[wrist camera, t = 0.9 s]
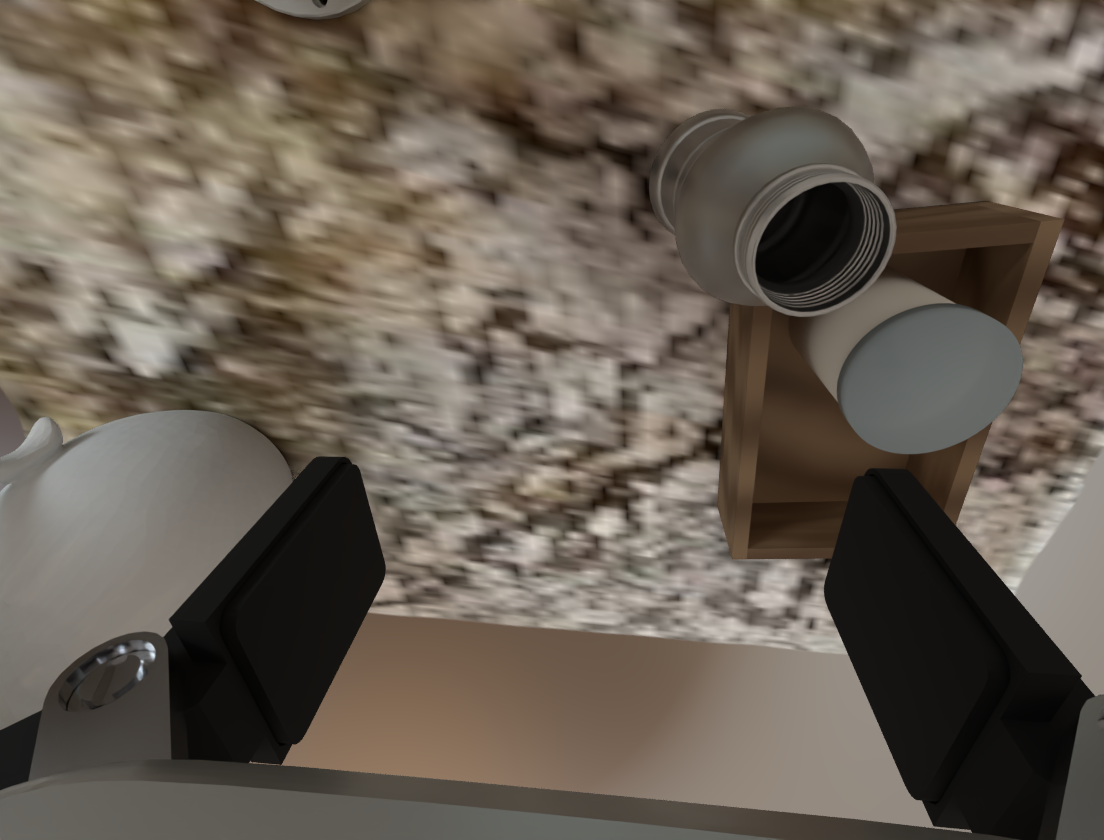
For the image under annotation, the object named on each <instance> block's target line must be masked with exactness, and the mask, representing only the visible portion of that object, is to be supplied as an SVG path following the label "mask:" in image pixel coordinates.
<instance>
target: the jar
mask: <svg viewBox="0 0 1104 840" xmlns="http://www.w3.org/2000/svg"><path fill="white" fill-rule="evenodd" d="M788 329H789V335H790V339H791V341H792V343H793V345H794V347H795V348H796V350H797V351H798V352H799V354H800V355H801V356H802V358H803V359H804V360H805V361H806V363H807V364H808V365H809V366H810V368H811V369H812V370H813V371H814V373H815V374H816V375H817V377H818V378H819V379H820V380H821V382H822V383H823V384H824V385H825V387H826V388H827V389H828V391H829V392H830V393H831V394H832V396H833V397H834V398H835V399H836V401H837V402H838V405H839V408H840V410H841V412H842V414H843V416H844V417H845V419H846V420H847V422H848V423H849V424H850V426H851V427H852V428H853V429H854V431H855V432H856V433H857V434H858V435H859V436H860V437H861V438H862V439H863V440H864V441H866V442H867V443H868V444H870V445H872V446H874V447H876V448H878V449H881V450H884V451H888V452H892V453H899V454H921V453H928V452H933V451H937V450H941V449H945V448H947V447H950V446H953V445H956V444H958V443H960V442H962V441H964V440H966V439H968V438H970V437H971V436H973V435H975V434H977V433H978V432H979V431H981V430H982V429H984V428H985V427H986V426H988V425H989V424H990V423H991V422H992V421H993V420H995V418H996V417H997V416H998V415H999V414H1000V413H1001V412H1002V411H1003V410H1004V409H1005V407H1006V406H1007V405H1008V404H1009V402H1010V400H1011V399H1012V397H1013V396H1014V394H1015V392H1016V390H1017V387H1018V385H1019V382H1020V379H1021V375H1022V369H1023V356H1022V351H1021V347H1020V345H1019V343H1018V341H1017V339H1016V337H1015V336H1014V335H1013V333H1012V332H1011V331H1010V330H1009V329H1008V328H1007V327H1006V326H1005V325H1003V324H1002V323H1000V322H999V321H997V320H995V319H993V318H992V317H990V316H988V315H986V314H984V313H982V312H980V311H978V310H976V309H974V308H971V307H968V306H964V305H960V304H956V303H954V302H952V301H950V300H948V299H946V298H945V297H943V296H941V295H939V294H937V293H936V292H934V291H932V290H930V289H928V288H927V287H925V286H923V285H921V284H919V283H918V282H916V281H914V280H912V279H910V278H909V277H907V276H905V275H903V274H901V273H900V272H898V271H896V270H894V269H892V268H891V267H889V266H887V265H886V267H885V269H884V270H883V271H882V273H881V274H880V276H879V277H878V278H877V280H876V281H875V282H874V283H873V284H872V285H871V286H870V287H869V288H868V289H867V290H866V292H864V293H863V294H862V295H861V296H859V297H858V298H857V299H855V300H854V301H853V302H851V303H849V304H847V305H846V306H844V307H842V308H840V309H838V310H835V311H833V312H830V313H827V314H823V315H818V316H813V317H796V316H790V315H789V321H788Z"/></svg>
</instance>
